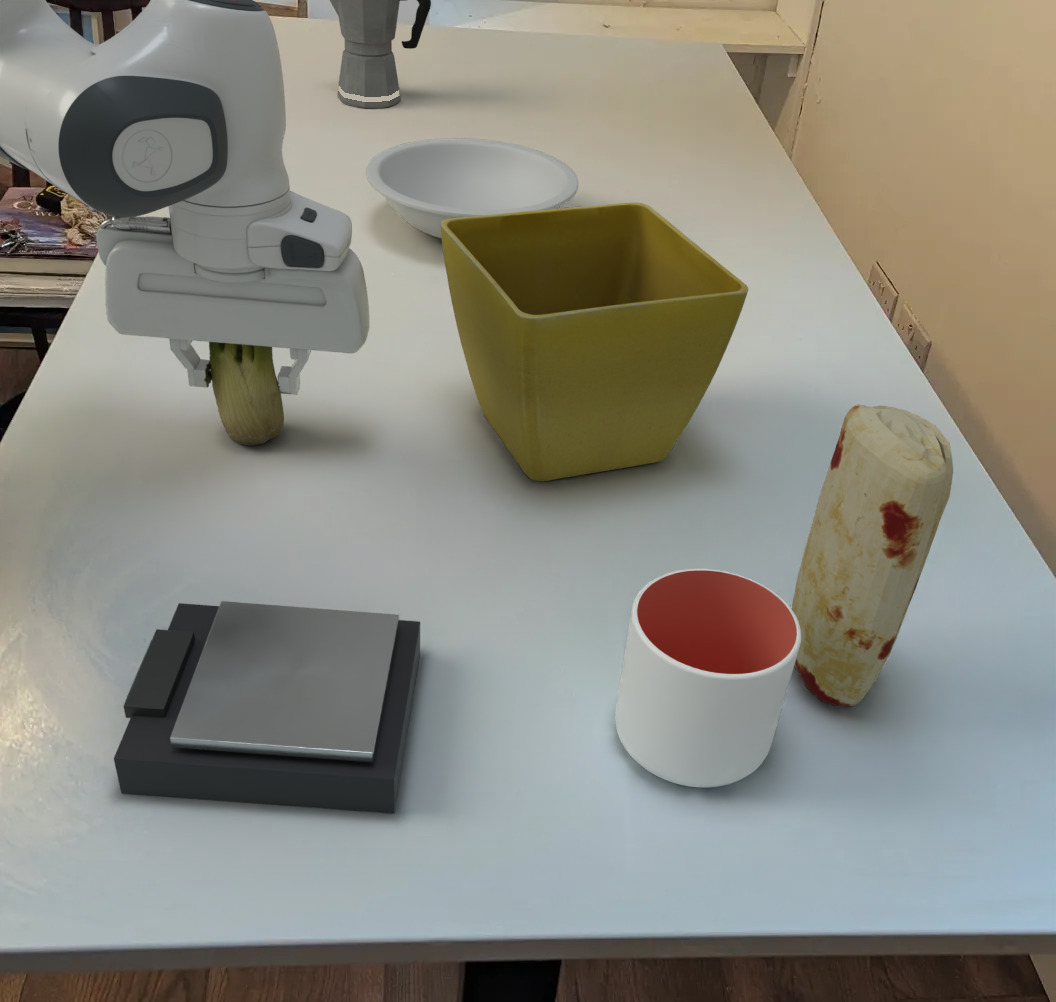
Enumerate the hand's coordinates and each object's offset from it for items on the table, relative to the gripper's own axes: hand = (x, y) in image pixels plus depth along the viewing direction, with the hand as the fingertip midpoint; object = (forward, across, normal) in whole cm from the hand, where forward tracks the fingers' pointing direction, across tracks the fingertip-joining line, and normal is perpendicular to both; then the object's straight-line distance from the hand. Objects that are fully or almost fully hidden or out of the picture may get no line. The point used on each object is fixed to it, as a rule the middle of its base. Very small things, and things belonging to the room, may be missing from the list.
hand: (246, 387), depth 97 cm
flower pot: (+5, +27, +4) cm, 28 cm away
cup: (+5, +35, -32) cm, 48 cm away
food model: (+5, +45, -25) cm, 52 cm away
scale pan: (+1, +10, -33) cm, 35 cm away
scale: (+5, +9, -33) cm, 35 cm away
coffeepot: (+4, -2, +94) cm, 94 cm away
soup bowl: (+4, +15, +48) cm, 51 cm away
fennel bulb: (+5, 0, 0) cm, 5 cm away
